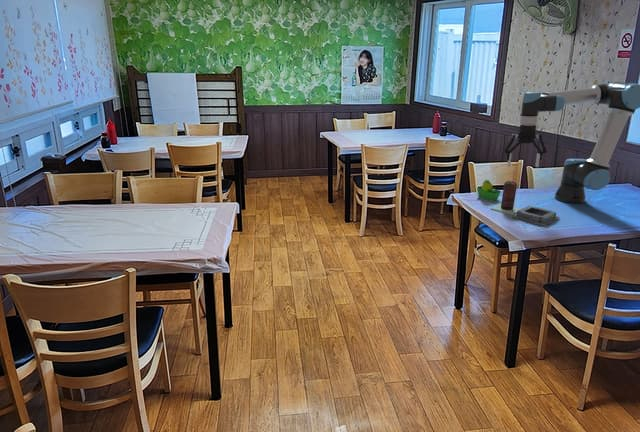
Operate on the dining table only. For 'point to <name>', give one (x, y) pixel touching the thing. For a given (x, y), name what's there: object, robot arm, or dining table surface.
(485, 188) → the fruit basket
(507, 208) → the can
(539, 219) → the socket block
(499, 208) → the mat
